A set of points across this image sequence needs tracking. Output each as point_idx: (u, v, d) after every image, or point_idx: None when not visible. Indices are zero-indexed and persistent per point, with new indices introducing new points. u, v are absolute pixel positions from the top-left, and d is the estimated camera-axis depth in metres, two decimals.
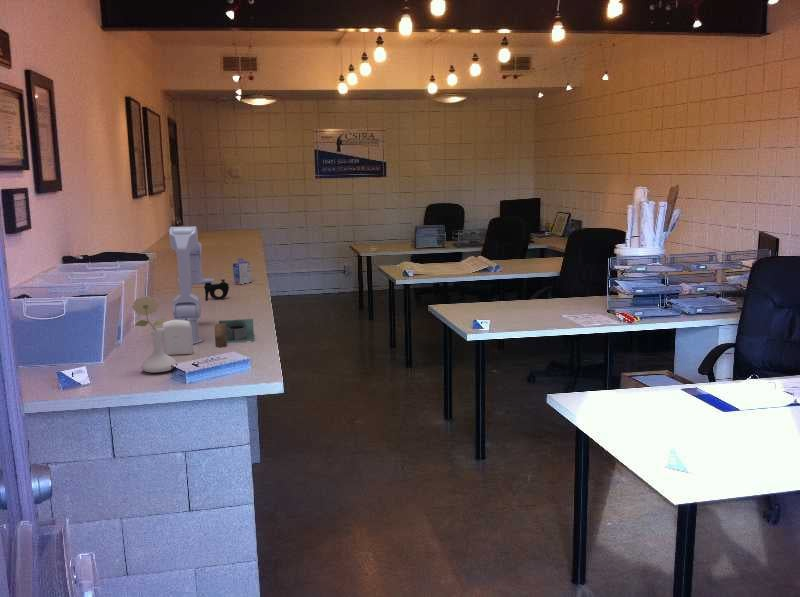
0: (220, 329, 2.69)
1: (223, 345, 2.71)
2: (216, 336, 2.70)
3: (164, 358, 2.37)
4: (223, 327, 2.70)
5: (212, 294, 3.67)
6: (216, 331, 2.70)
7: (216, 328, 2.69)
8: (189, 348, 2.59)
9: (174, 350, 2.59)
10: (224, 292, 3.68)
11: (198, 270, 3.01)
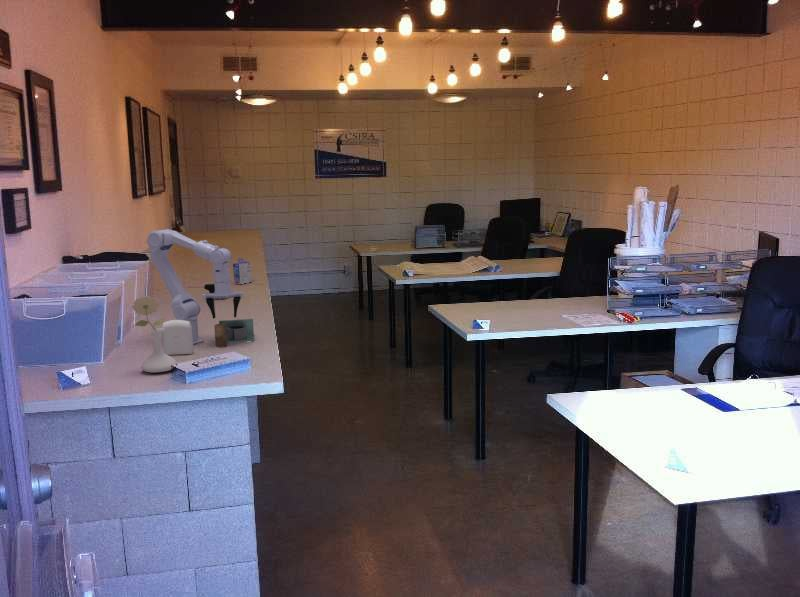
0: (220, 329, 2.69)
1: (223, 345, 2.71)
2: (216, 336, 2.70)
3: (164, 358, 2.37)
4: (223, 327, 2.70)
5: None
6: (216, 331, 2.70)
7: (216, 328, 2.69)
8: (189, 348, 2.59)
9: (174, 350, 2.59)
10: None
11: (214, 281, 2.68)
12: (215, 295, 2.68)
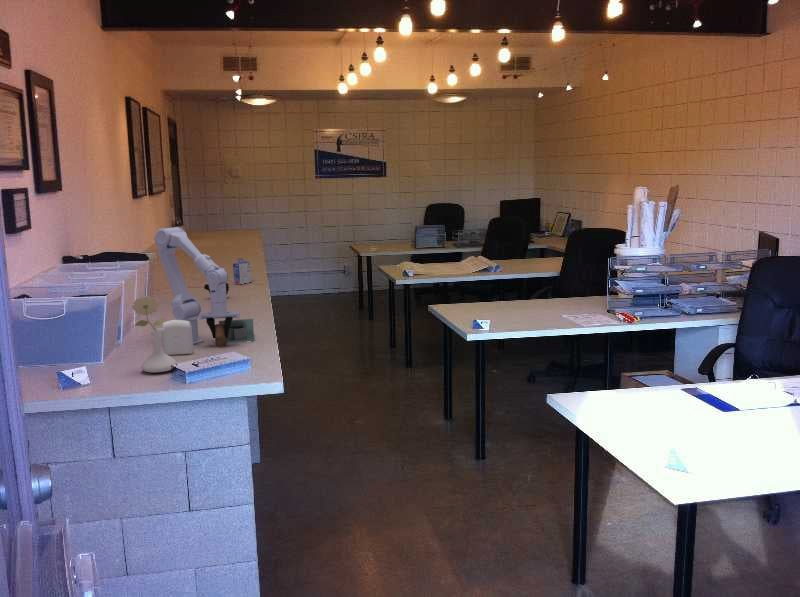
0: (220, 329, 2.69)
1: (223, 345, 2.71)
2: (216, 336, 2.70)
3: (164, 358, 2.37)
4: (223, 327, 2.70)
5: None
6: (216, 331, 2.70)
7: (216, 328, 2.69)
8: (189, 348, 2.59)
9: (174, 350, 2.59)
10: None
11: None
12: (211, 315, 2.68)
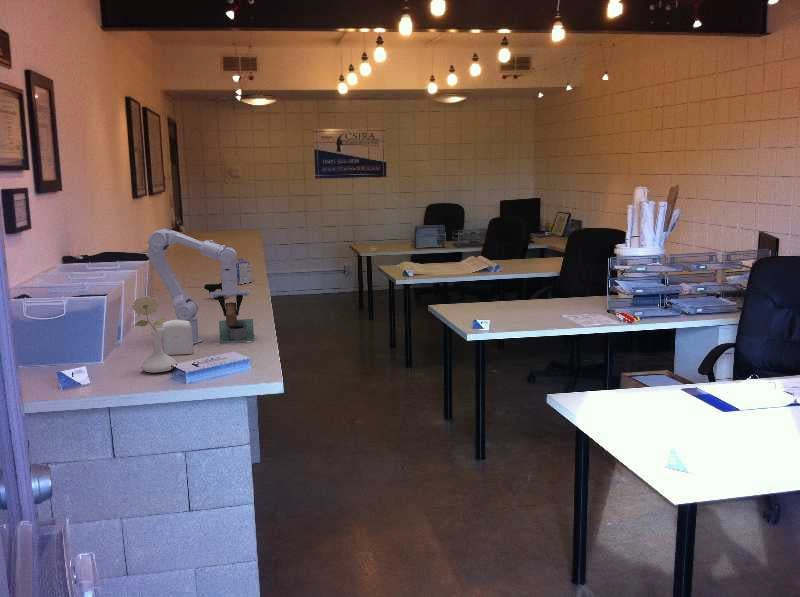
0: (231, 307, 2.74)
1: (234, 323, 2.76)
2: (227, 314, 2.75)
3: (164, 358, 2.37)
4: (234, 305, 2.75)
5: None
6: (227, 309, 2.74)
7: (227, 306, 2.74)
8: (189, 348, 2.59)
9: (174, 350, 2.59)
10: None
11: (222, 279, 2.73)
12: (223, 293, 2.72)
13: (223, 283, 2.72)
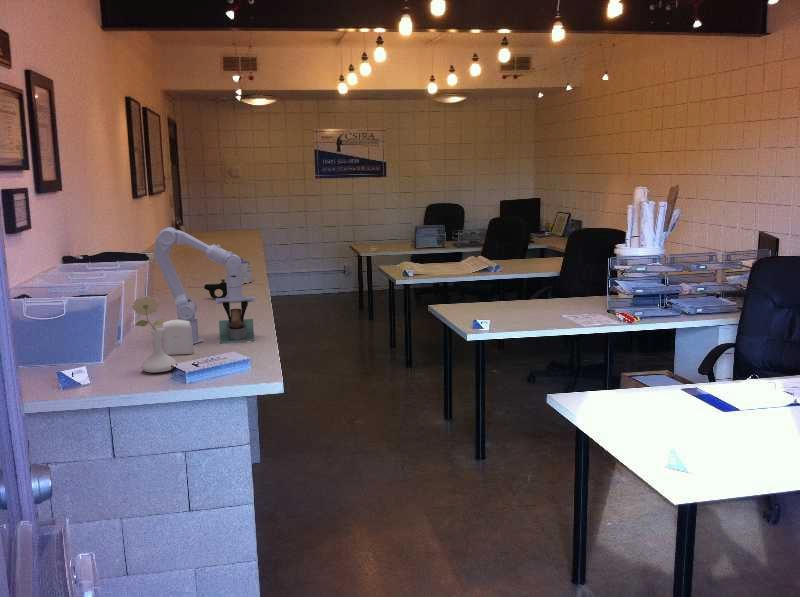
0: (236, 313, 2.77)
1: None
2: (232, 320, 2.78)
3: (164, 358, 2.37)
4: (239, 311, 2.78)
5: (212, 294, 3.67)
6: (232, 315, 2.78)
7: (232, 312, 2.77)
8: (189, 348, 2.59)
9: (174, 350, 2.59)
10: (224, 292, 3.68)
11: (228, 286, 2.75)
12: (228, 300, 2.76)
13: (228, 289, 2.76)
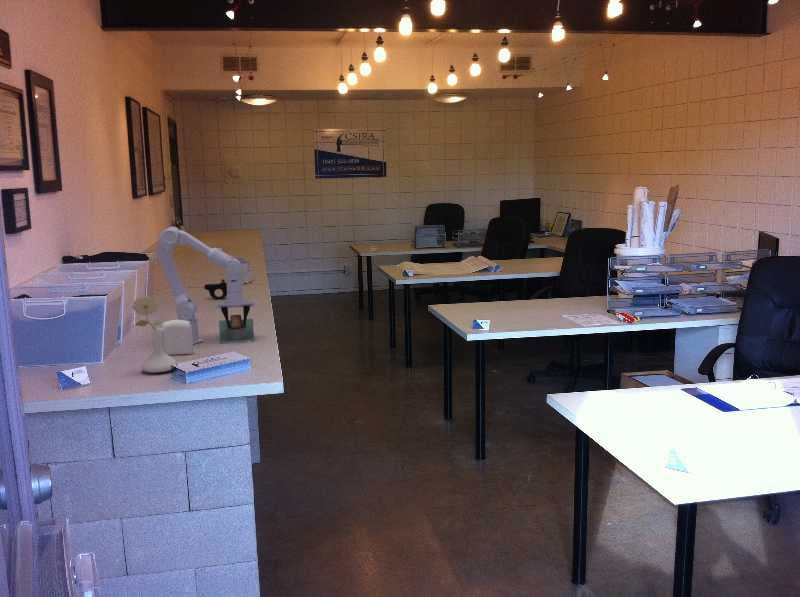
0: (236, 320, 2.78)
1: None
2: (232, 326, 2.78)
3: (164, 358, 2.37)
4: (239, 318, 2.78)
5: (212, 294, 3.67)
6: (232, 322, 2.78)
7: (232, 319, 2.78)
8: (189, 348, 2.59)
9: (174, 350, 2.59)
10: (224, 292, 3.68)
11: (228, 291, 2.76)
12: (228, 304, 2.76)
13: (229, 294, 2.76)
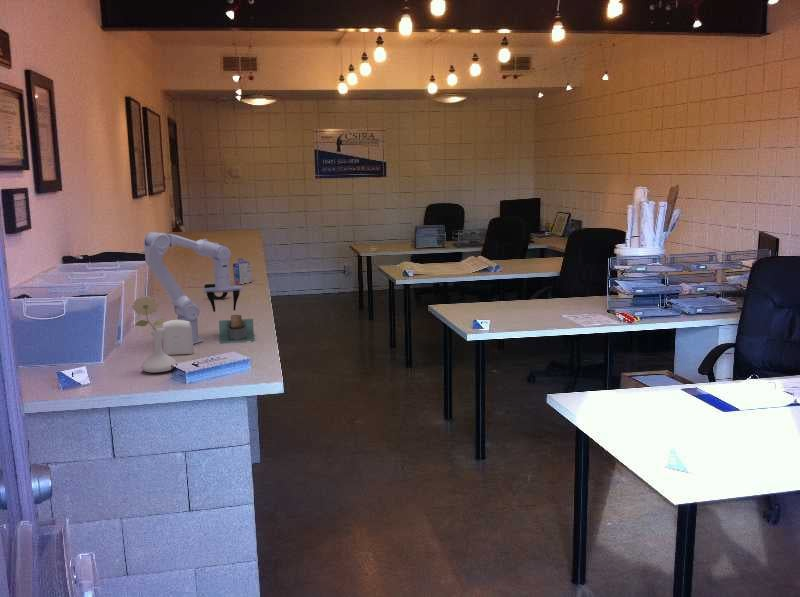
0: (236, 320, 2.78)
1: None
2: (232, 326, 2.79)
3: (164, 358, 2.37)
4: (239, 318, 2.78)
5: None
6: (232, 322, 2.78)
7: (232, 319, 2.78)
8: (189, 348, 2.59)
9: (174, 350, 2.59)
10: (224, 292, 3.68)
11: (218, 276, 2.80)
12: (216, 289, 2.81)
13: (216, 279, 2.81)
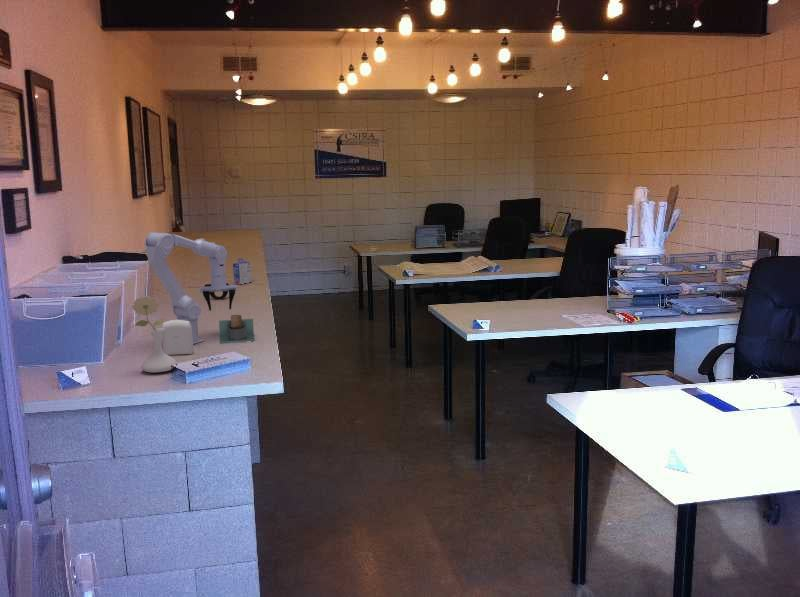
0: (236, 320, 2.78)
1: None
2: (232, 326, 2.79)
3: (164, 358, 2.37)
4: (239, 318, 2.78)
5: (212, 294, 3.67)
6: (232, 322, 2.78)
7: (232, 319, 2.78)
8: (189, 348, 2.59)
9: (174, 350, 2.59)
10: (224, 292, 3.68)
11: (216, 275, 2.82)
12: (212, 288, 2.83)
13: (212, 278, 2.83)
